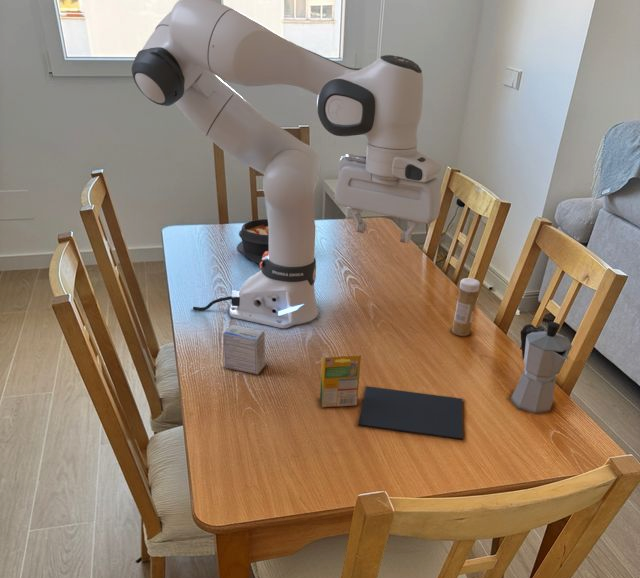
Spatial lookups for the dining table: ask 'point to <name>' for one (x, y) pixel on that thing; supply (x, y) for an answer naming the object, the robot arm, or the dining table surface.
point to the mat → (412, 413)
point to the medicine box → (244, 349)
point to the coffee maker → (540, 366)
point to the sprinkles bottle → (465, 306)
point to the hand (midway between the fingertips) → (382, 236)
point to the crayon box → (339, 381)
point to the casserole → (254, 239)
